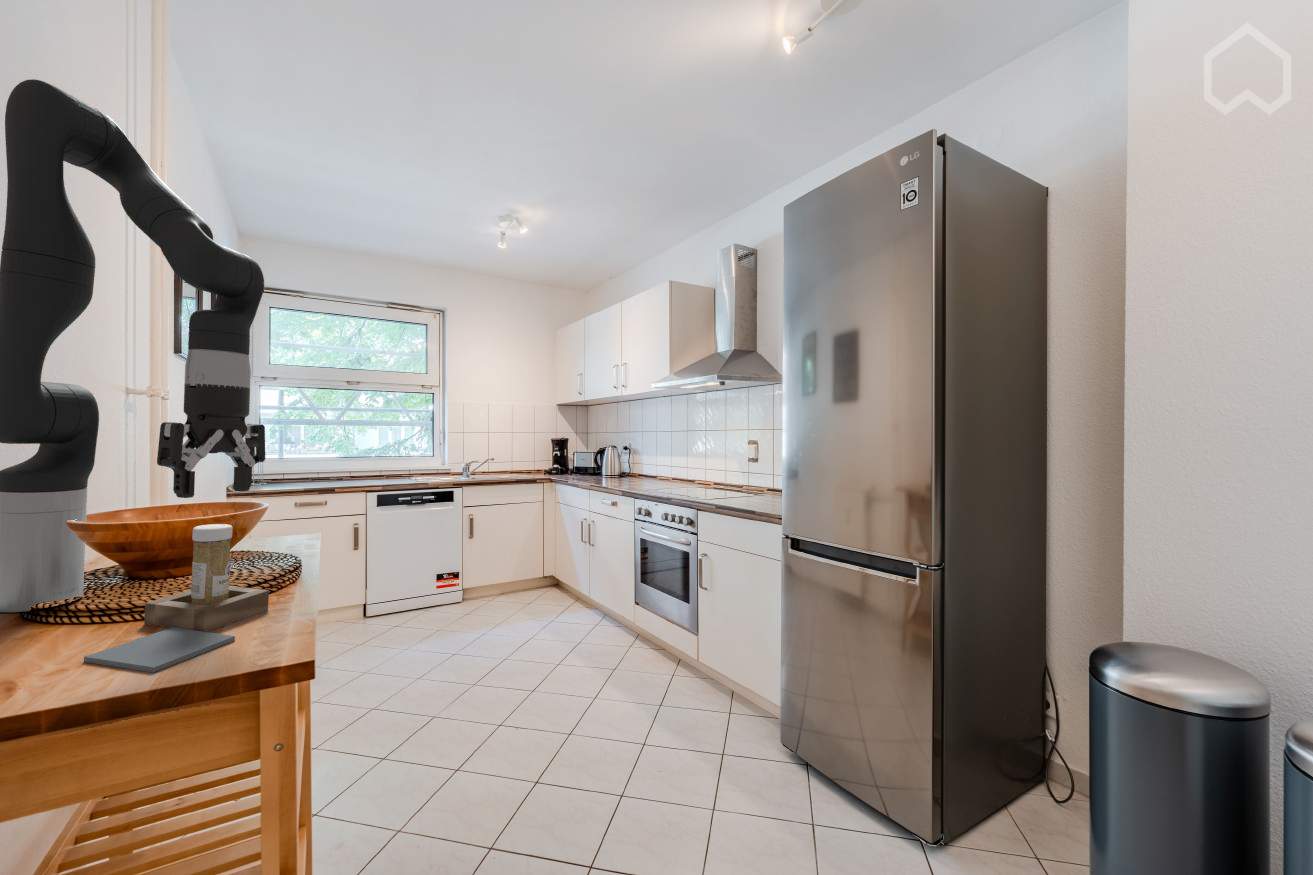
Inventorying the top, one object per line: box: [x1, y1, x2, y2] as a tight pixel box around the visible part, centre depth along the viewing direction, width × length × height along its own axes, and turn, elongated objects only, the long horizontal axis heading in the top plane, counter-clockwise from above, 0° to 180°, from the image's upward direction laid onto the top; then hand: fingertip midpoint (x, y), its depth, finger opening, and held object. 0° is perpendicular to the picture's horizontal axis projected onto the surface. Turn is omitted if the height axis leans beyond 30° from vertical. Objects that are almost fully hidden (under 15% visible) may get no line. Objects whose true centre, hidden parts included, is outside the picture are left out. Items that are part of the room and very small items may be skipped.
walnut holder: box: [143, 585, 270, 632], centre depth 81 cm, size 10×10×3 cm
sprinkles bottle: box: [190, 523, 233, 605], centre depth 80 cm, size 5×5×13 cm
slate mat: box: [83, 627, 236, 674], centre depth 69 cm, size 10×10×1 cm
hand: (214, 494), depth 80 cm, fingers open, 8 cm apart
